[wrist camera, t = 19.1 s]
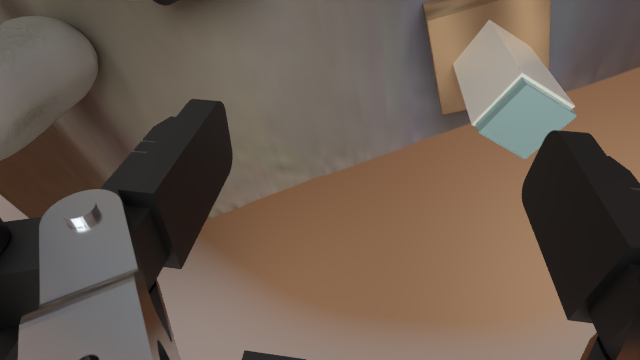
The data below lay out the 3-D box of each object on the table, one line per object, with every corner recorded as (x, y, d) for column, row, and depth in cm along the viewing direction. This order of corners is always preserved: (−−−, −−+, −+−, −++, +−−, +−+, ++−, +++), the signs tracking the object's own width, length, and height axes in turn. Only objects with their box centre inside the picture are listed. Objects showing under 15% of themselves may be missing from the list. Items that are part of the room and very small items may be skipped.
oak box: (436, 88, 45) (442, 114, 40) (422, 2, 39) (427, 21, 34) (530, 66, 42) (548, 91, 37) (530, -31, 36) (550, -15, 31)
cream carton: (491, 87, 38) (525, 162, 28) (452, 64, 37) (474, 133, 27) (530, 46, 35) (581, 115, 25) (489, 19, 34) (527, 80, 24)
